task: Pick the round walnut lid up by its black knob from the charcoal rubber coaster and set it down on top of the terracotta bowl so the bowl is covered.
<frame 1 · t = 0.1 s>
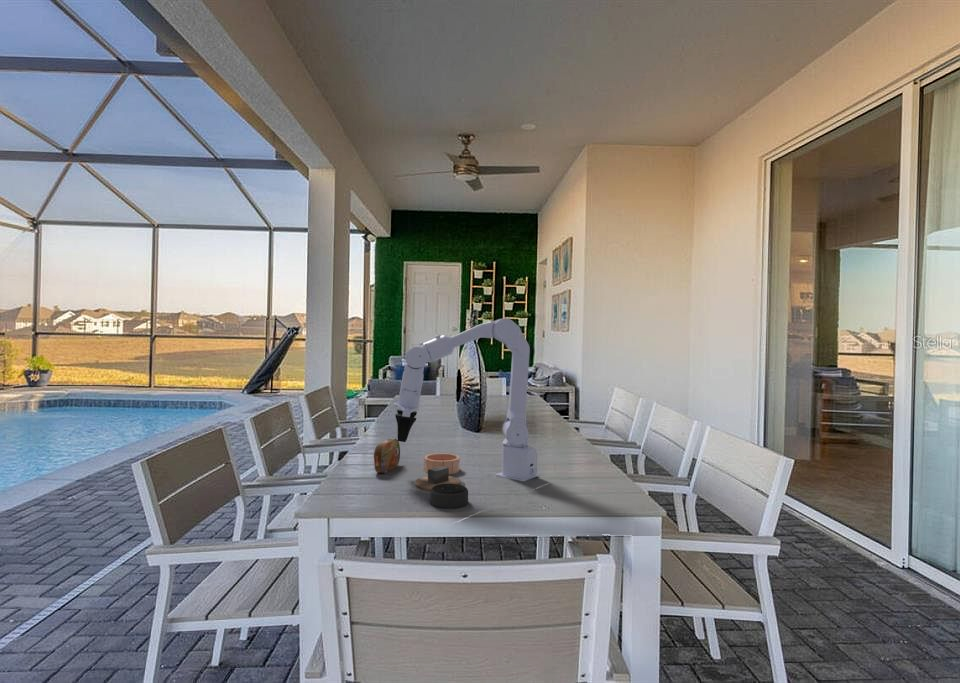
hand: (402, 438, 157), 10 cm above the table, tool pointing down, fingers open, 7 cm apart
lid: (438, 484, 148), resting on coaster
smart speaker: (449, 505, 133), on the table
bowl: (441, 471, 163), on the table
tin: (386, 470, 164), on the table
coaster: (438, 485, 148), on the table
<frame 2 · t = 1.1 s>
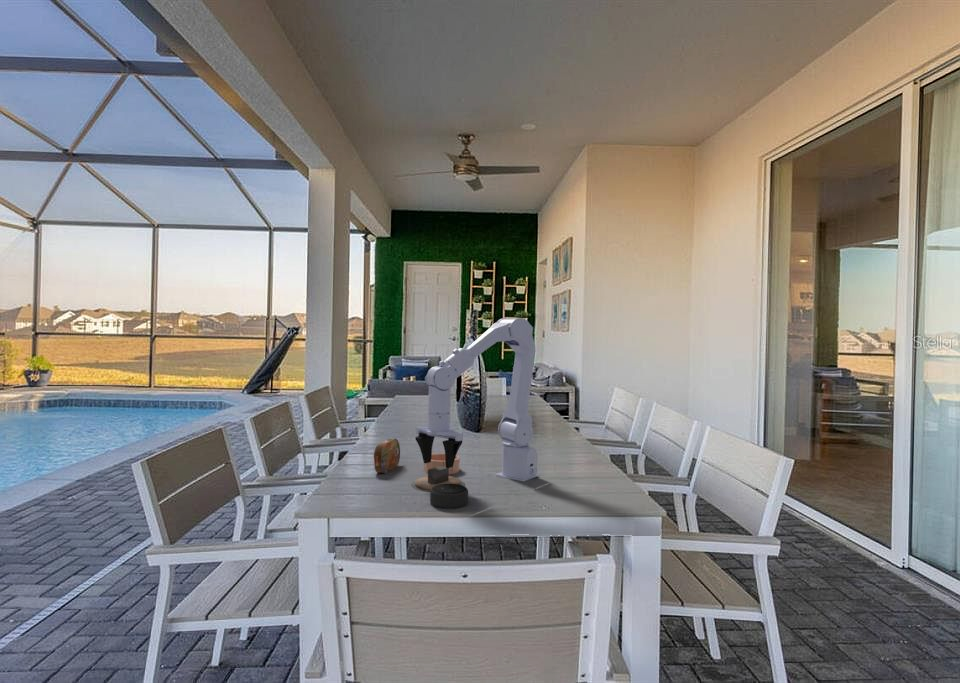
hand: (438, 464, 148), 5 cm above the table, tool pointing down, fingers open, 7 cm apart
nothing on the table moved.
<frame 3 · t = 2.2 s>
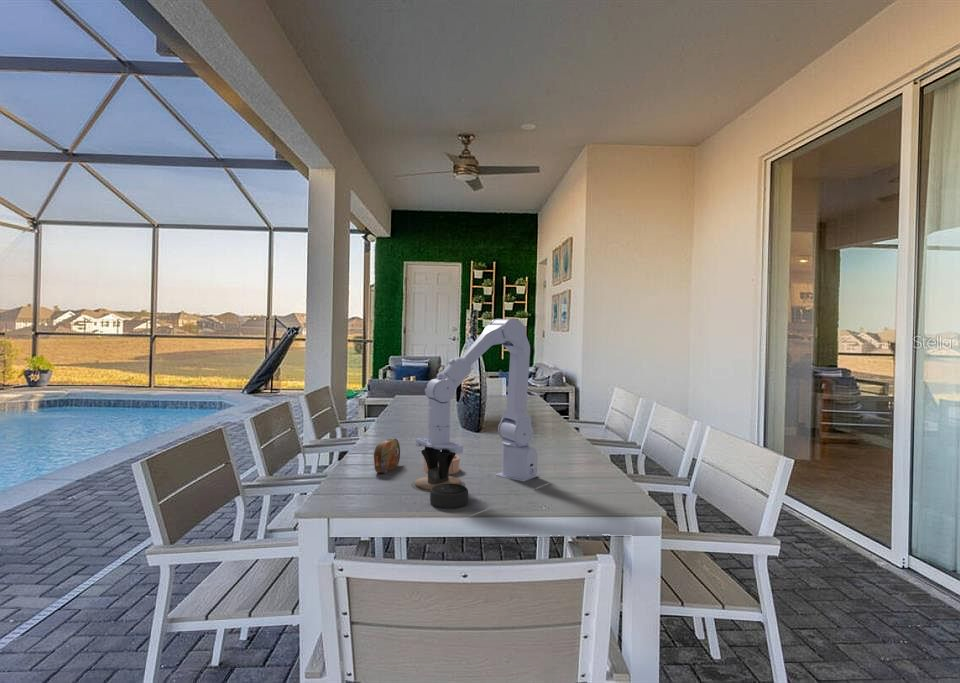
hand: (438, 477, 148), 2 cm above the table, tool pointing down, fingers closed on lid, 3 cm apart
lid: (438, 484, 148), resting on coaster, touching gripper
everything else where it was.
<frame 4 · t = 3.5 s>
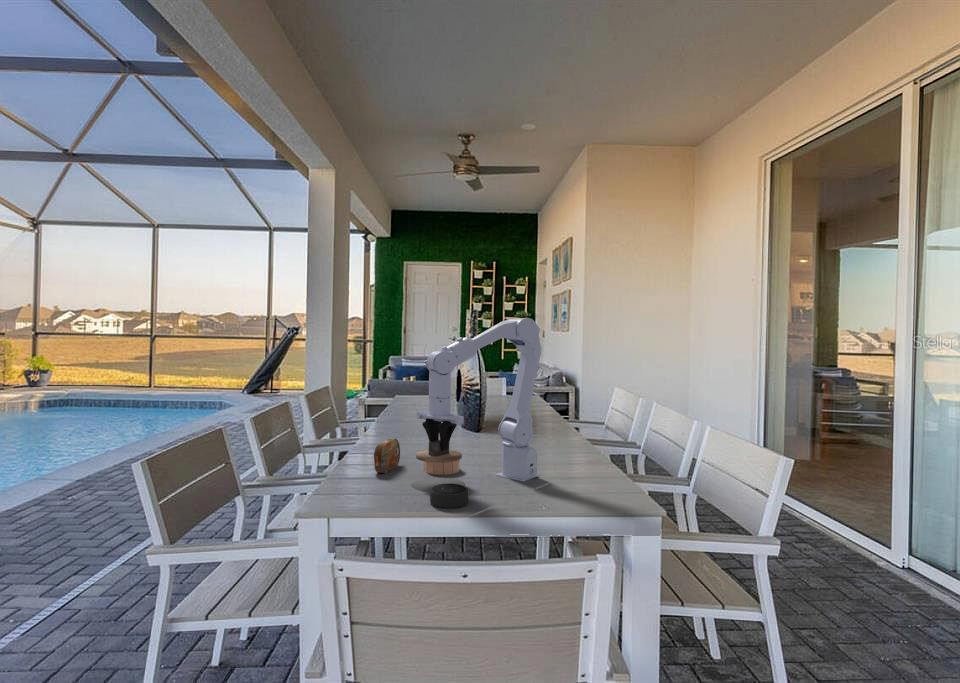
hand: (439, 449, 149), 9 cm above the table, tool pointing down, fingers closed on lid, 3 cm apart
lid: (438, 457, 149), point 7 cm above the table, touching gripper
everything else where it was.
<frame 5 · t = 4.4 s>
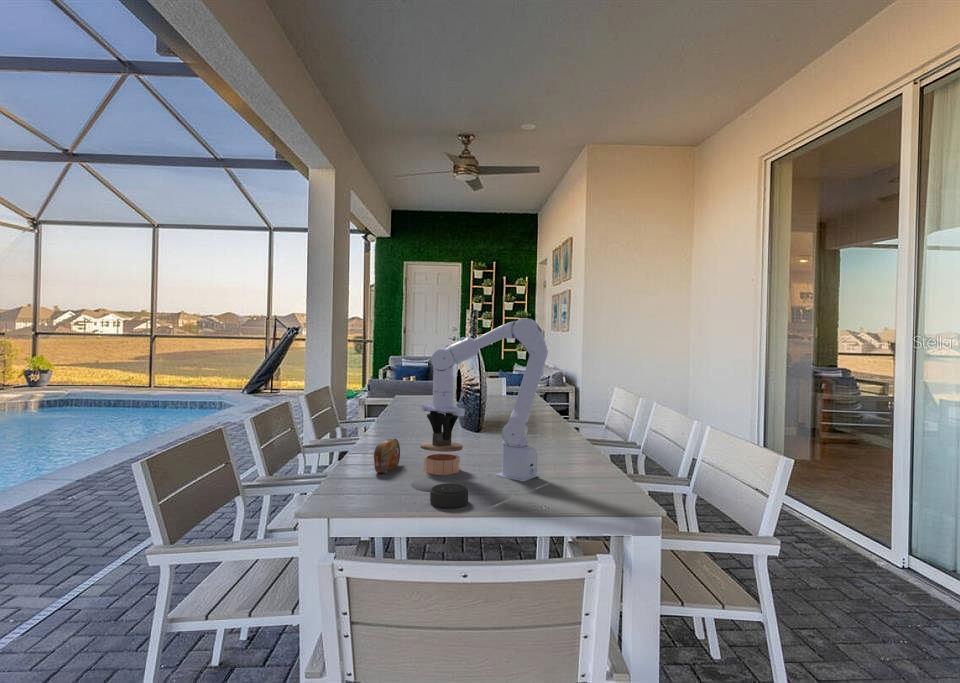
hand: (442, 438, 163), 9 cm above the table, tool pointing down, fingers closed on lid, 3 cm apart
lid: (441, 447, 163), point 7 cm above the table, touching gripper
everything else where it was.
when the fingers open (7 cm above the table, at t = 5.0 s): lid stays where it is, resting on bowl.
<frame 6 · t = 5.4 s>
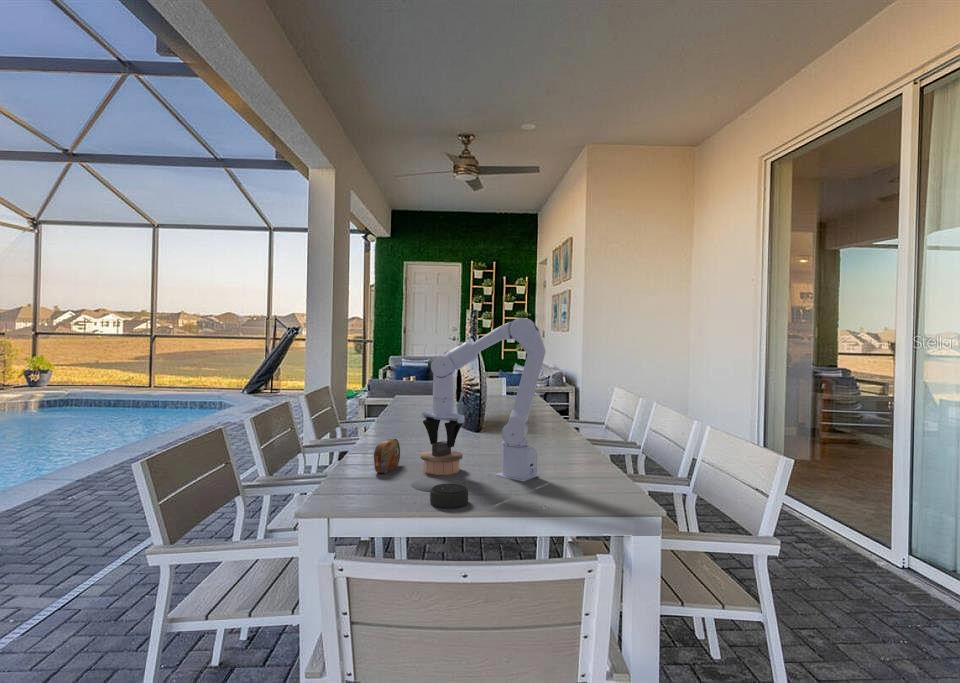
hand: (442, 445, 163), 7 cm above the table, tool pointing down, fingers open, 6 cm apart
lid: (441, 457, 163), point 4 cm above the table, touching bowl
everything else where it was.
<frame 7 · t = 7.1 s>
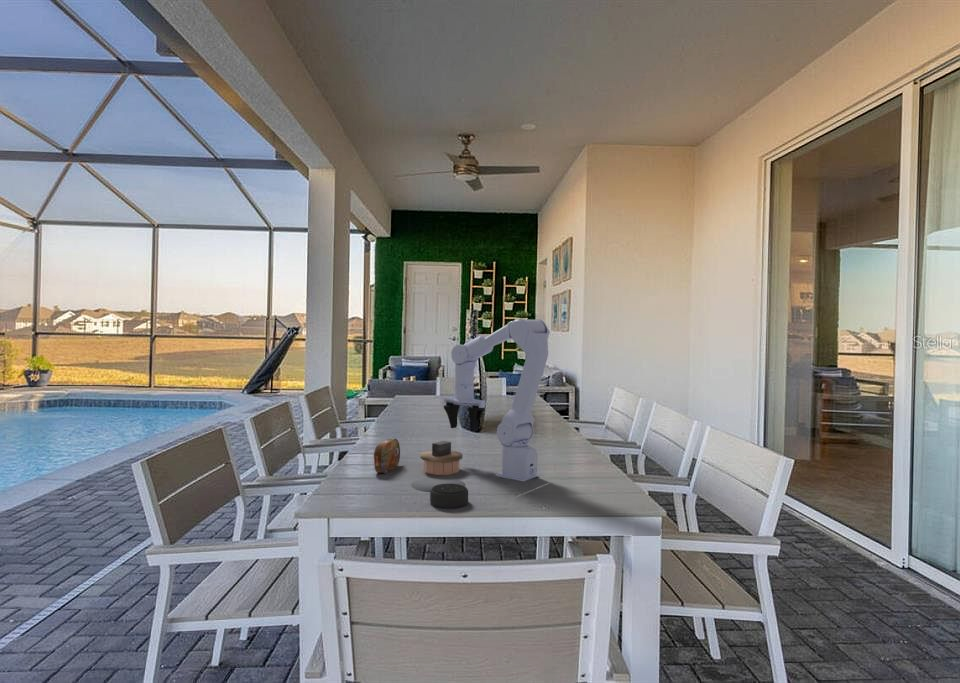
hand: (463, 429, 173), 10 cm above the table, tool pointing down, fingers open, 7 cm apart
nothing on the table moved.
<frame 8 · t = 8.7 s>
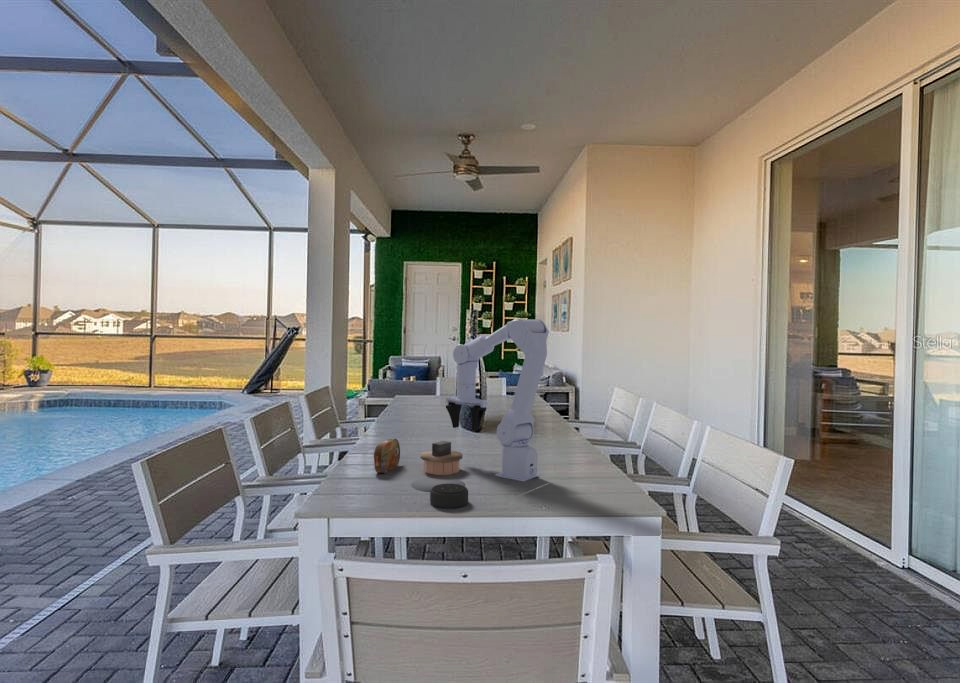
hand: (465, 428, 173), 10 cm above the table, tool pointing down, fingers open, 7 cm apart
nothing on the table moved.
at the end: lid 0.2 cm off-centre on the bowl, point 4.0 cm above the bowl's base; lid tilted 0°; the gripper is holding nothing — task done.
